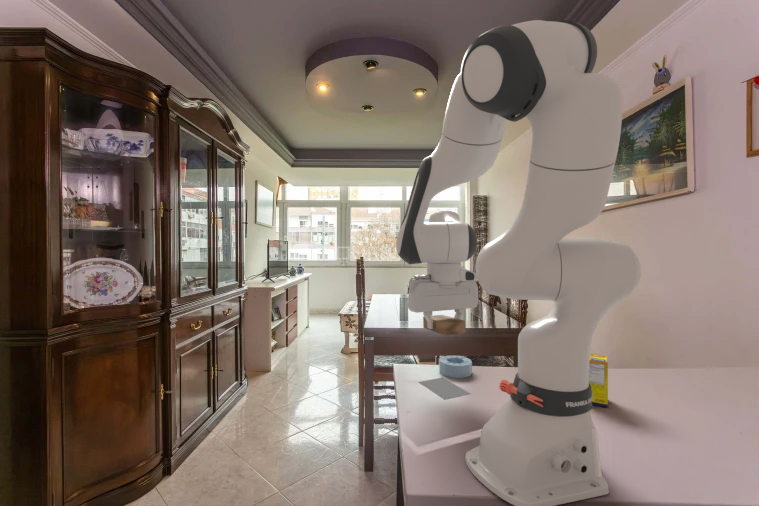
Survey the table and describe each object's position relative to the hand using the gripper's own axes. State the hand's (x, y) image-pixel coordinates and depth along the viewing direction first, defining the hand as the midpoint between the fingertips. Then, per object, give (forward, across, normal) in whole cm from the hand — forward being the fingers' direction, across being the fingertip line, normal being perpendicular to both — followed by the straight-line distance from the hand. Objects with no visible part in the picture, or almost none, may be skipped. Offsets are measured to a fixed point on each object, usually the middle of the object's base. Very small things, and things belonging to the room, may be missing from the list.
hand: (443, 327), depth 88 cm
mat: (+17, 0, 0) cm, 17 cm away
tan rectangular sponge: (+1, 0, 0) cm, 1 cm away
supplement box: (+17, +30, -20) cm, 40 cm away
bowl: (+17, +10, +8) cm, 21 cm away
